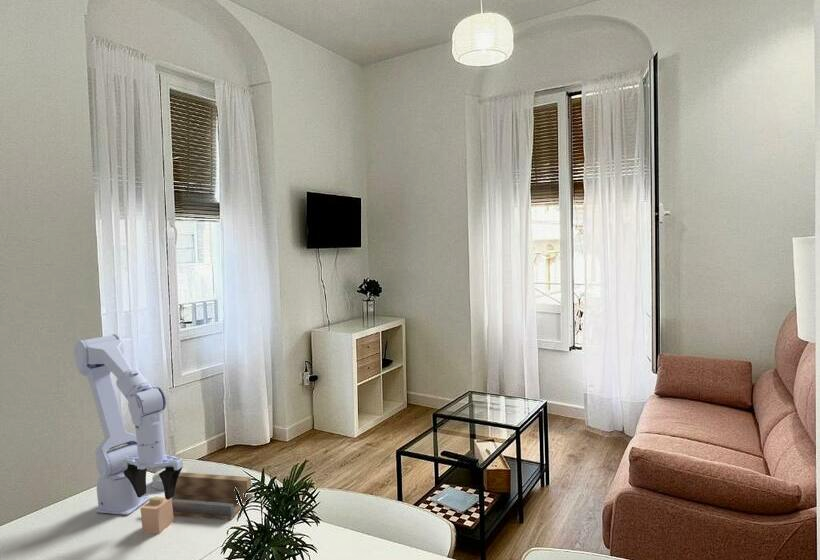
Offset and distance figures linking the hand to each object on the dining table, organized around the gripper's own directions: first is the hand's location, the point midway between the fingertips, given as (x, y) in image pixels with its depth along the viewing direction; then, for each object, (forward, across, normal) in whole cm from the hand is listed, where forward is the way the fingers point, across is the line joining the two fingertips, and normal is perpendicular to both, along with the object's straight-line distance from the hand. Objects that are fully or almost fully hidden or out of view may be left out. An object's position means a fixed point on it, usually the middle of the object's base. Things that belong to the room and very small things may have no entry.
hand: (155, 496), depth 121 cm
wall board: (+8, +5, +10) cm, 13 cm away
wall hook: (+8, -12, +20) cm, 24 cm away
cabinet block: (+8, 0, 0) cm, 8 cm away
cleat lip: (+7, +5, +6) cm, 10 cm away
